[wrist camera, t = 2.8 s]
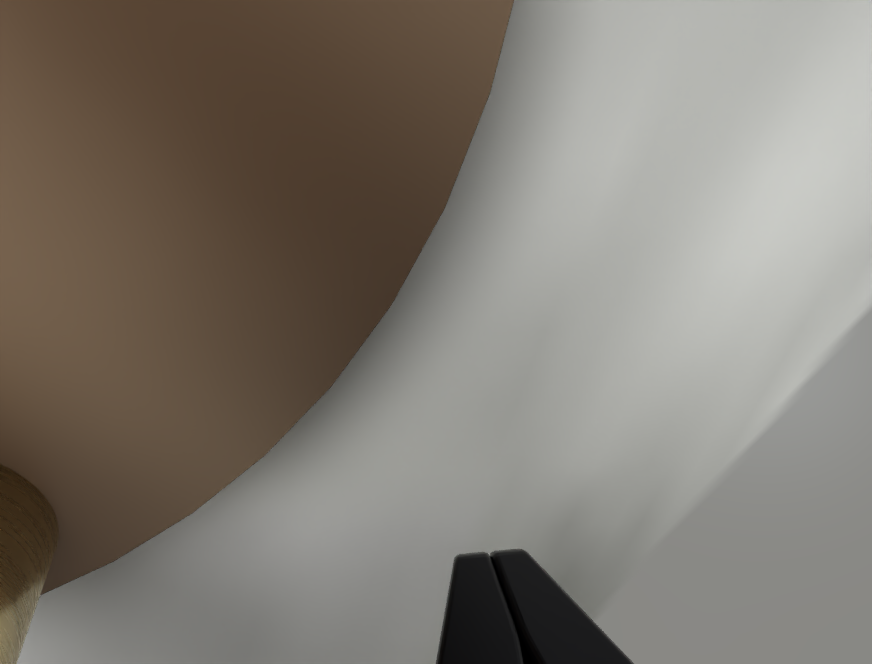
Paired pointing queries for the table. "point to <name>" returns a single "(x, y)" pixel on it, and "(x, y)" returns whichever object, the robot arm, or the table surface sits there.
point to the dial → (200, 242)
